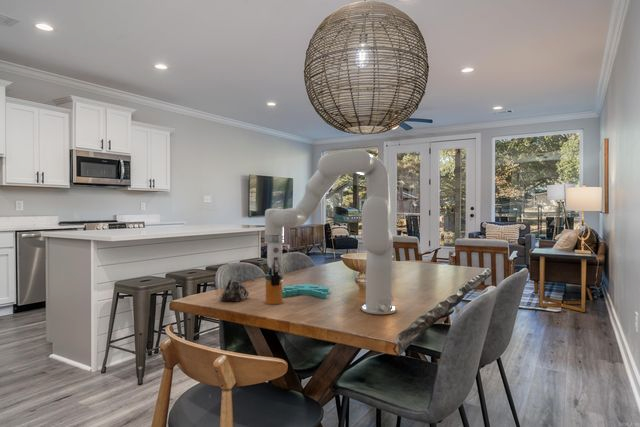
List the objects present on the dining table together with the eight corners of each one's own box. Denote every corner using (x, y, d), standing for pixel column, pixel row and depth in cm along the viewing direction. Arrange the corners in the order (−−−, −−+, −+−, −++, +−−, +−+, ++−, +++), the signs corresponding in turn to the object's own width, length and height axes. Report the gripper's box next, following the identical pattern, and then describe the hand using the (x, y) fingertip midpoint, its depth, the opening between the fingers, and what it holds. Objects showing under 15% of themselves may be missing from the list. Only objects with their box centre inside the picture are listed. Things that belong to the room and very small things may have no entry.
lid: (265, 277, 168) (265, 273, 168) (282, 277, 169) (282, 273, 169) (265, 280, 161) (265, 276, 161) (282, 280, 162) (282, 276, 162)
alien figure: (326, 298, 173) (329, 289, 193) (326, 293, 173) (330, 284, 193) (279, 297, 175) (287, 288, 195) (279, 291, 175) (288, 283, 195)
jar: (283, 303, 163) (283, 277, 163) (267, 304, 161) (267, 278, 161) (280, 300, 169) (280, 275, 169) (264, 301, 167) (264, 275, 167)
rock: (239, 308, 161) (252, 285, 166) (218, 296, 161) (231, 274, 166) (238, 313, 173) (250, 292, 177) (218, 302, 173) (230, 282, 177)
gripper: (287, 241, 157) (286, 287, 157) (279, 237, 174) (279, 279, 174) (267, 241, 155) (267, 288, 155) (262, 238, 172) (261, 280, 172)
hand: (273, 283), depth 165 cm, fingers closed on lid, 6 cm apart
